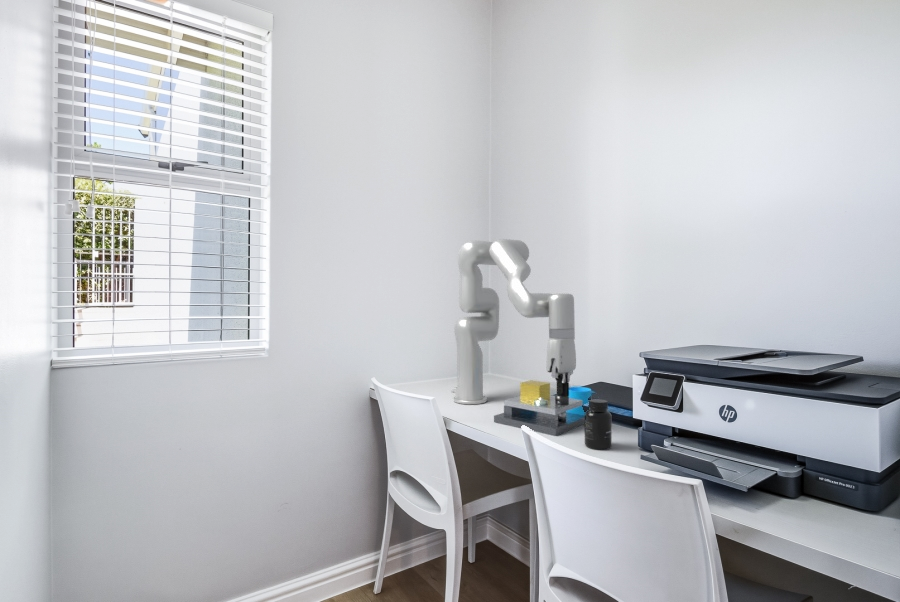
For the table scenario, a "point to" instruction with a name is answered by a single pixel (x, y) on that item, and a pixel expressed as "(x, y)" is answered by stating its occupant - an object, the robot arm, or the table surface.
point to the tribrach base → (540, 420)
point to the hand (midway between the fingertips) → (562, 395)
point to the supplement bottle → (598, 425)
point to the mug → (579, 398)
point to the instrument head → (541, 399)
